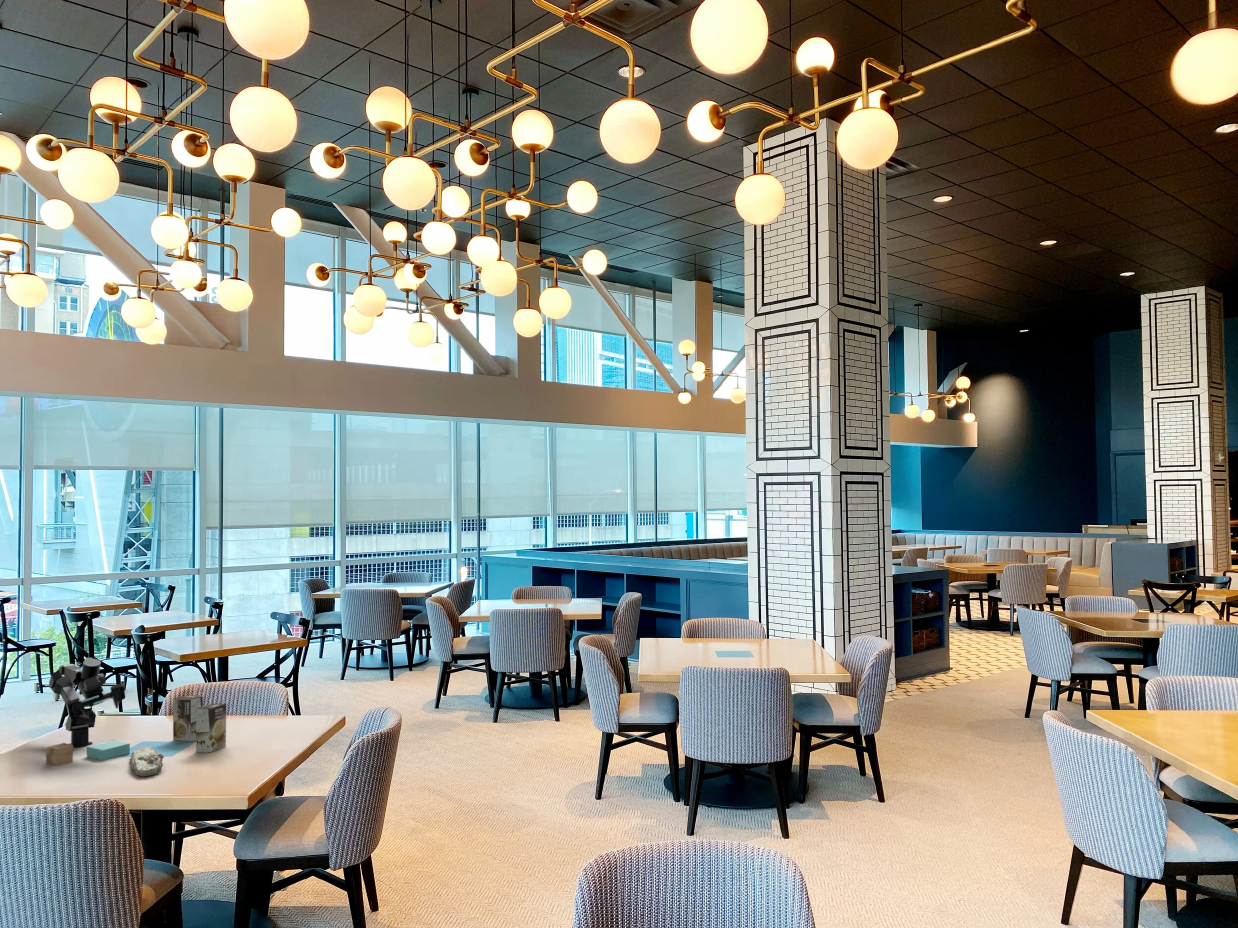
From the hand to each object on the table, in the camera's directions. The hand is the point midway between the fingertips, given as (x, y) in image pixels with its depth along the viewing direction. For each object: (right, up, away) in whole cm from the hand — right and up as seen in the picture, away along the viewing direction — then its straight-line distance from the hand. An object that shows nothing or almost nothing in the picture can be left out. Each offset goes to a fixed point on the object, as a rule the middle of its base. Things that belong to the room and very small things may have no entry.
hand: (103, 712), depth 325 cm
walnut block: (-11, -16, -8) cm, 21 cm away
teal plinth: (+1, -16, +1) cm, 16 cm away
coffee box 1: (+20, -17, +22) cm, 34 cm away
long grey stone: (+22, -15, -13) cm, 30 cm away
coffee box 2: (+36, -16, +7) cm, 40 cm away
